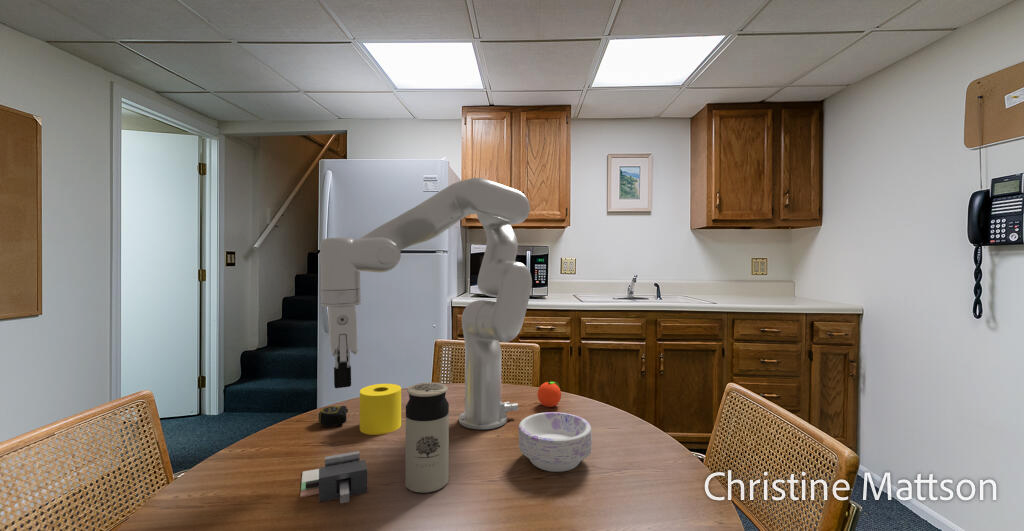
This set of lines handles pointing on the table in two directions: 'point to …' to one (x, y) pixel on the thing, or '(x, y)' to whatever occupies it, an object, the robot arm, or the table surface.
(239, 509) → the table surface
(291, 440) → the table surface
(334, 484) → the block
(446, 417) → the travel mug
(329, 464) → the grey t-shaped piece
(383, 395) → the tape roll
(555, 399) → the clementine
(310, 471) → the scale strip
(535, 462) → the paper bowls
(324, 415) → the tape measure
